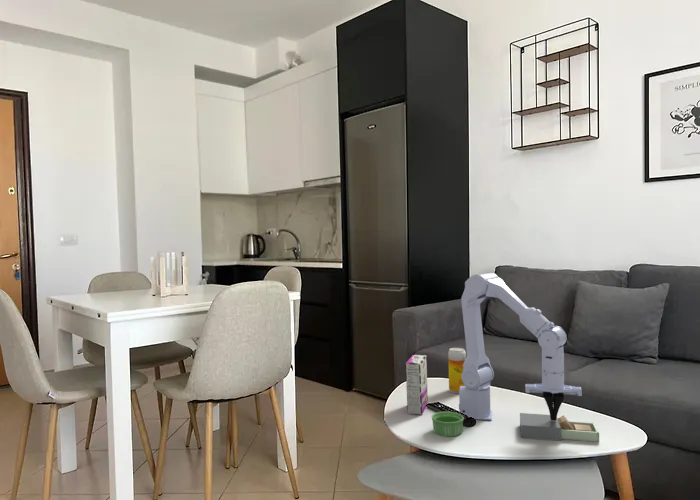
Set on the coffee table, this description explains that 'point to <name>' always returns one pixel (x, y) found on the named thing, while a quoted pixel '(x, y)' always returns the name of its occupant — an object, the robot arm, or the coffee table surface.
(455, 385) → the beer glass
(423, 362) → the candy bar box
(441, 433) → the ramekin
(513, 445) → the coffee table surface
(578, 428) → the oak tile
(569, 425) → the oak tile
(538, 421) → the grey flat block
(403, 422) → the coffee table surface
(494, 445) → the coffee table surface
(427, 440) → the coffee table surface
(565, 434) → the tray
